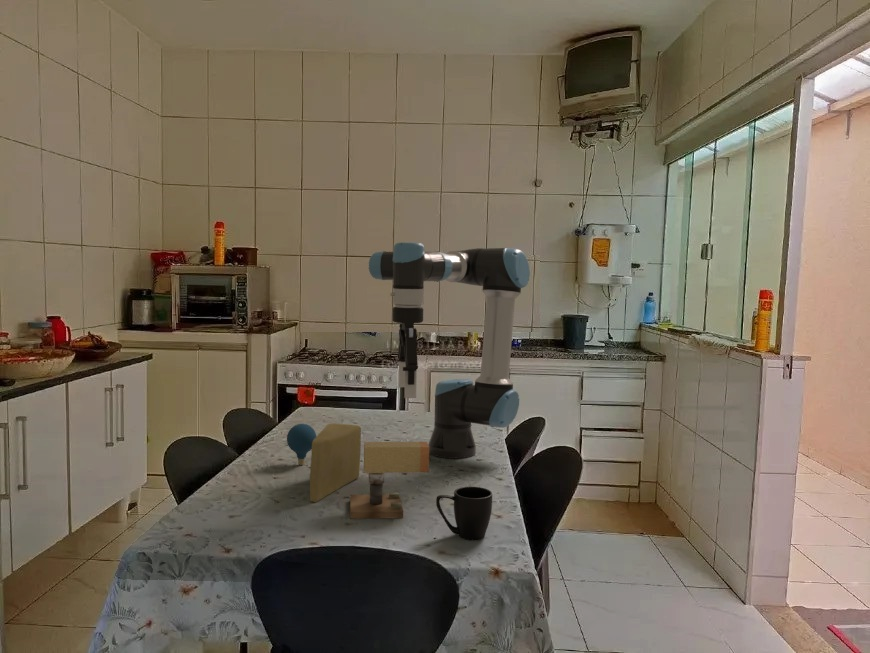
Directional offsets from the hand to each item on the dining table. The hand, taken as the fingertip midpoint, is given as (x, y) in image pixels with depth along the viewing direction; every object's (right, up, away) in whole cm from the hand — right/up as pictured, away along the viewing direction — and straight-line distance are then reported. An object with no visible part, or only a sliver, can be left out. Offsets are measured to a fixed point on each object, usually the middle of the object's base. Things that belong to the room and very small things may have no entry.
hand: (407, 392), depth 162 cm
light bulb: (-32, -24, +27) cm, 48 cm away
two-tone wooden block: (-2, -21, -6) cm, 22 cm away
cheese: (-20, -26, +7) cm, 34 cm away
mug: (+13, -29, -21) cm, 38 cm away
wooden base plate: (-7, -27, -7) cm, 29 cm away
